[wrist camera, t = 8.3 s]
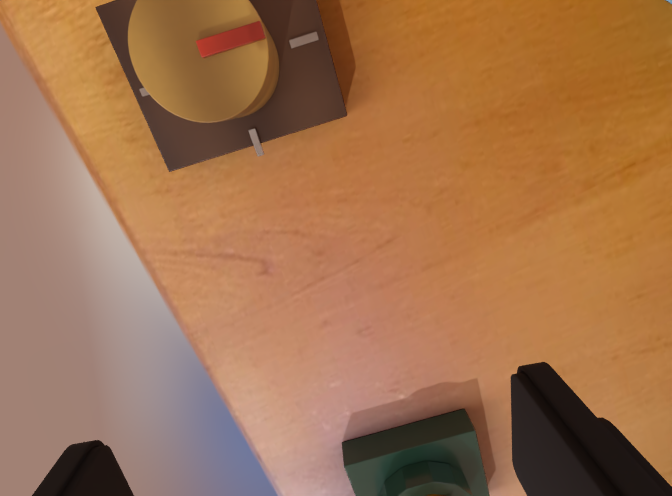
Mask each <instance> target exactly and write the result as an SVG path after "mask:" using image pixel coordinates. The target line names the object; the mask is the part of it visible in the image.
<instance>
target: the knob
mask: <svg viewBox="0 0 672 496" xmlns="http://www.w3.org/2000/svg"><path fill="white" fill-rule="evenodd" d="M128 46H129V53H130V57H131V61H132V64H133V67H134V70H135V72H136V74H137V76H138V78H139V80H140V82H141V83H142V85H143V86H144V88H145V89H146V91H147V92H148V93H149V94H150V96H151V97H152V98H153V99H154V100H155V101H156V102H157V103H158V104H160V105H161V106H162V107H163V108H165V109H166V110H168V111H169V112H171V113H173V114H174V115H177V116H179V117H181V118H183V119H187V120H190V121H194V122H200V123H213V122H220V121H225V120H230V119H235V118H240V117H244V116H248V115H250V114H253V113H254V112H256V111H258V110H259V109H260V108H262V107H263V106H264V105H265V104H266V103H267V102H268V101H269V99H270V98H271V96H272V95H273V93H274V91H275V88H276V86H277V82H278V78H279V57H278V52H277V49H276V46H275V43H274V41H273V39H272V37H271V35H270V34H269V32H268V30H267V28H266V27H265V25H264V23H263V21H262V20H261V18H260V16H259V15H258V13H257V11H256V10H255V8H254V7H253V5H252V4H251V2H250V1H249V0H137V1H136V3H135V6H134V8H133V10H132V13H131V17H130V21H129V27H128Z"/></svg>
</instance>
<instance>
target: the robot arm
mask: <svg viewBox="0 0 672 496" xmlns="http://www.w3.org/2000/svg"><path fill="white" fill-rule="evenodd" d="M511 414H512V461H513V466H514V470H515V472H516V475H517V477H518V479H519V481H520V483H521V485H522V487H523V489H524V490H525V492H526V494H527V496H672V487H671V486H670V485H669V484H668V483H667V481H666V480H665V479H664V478H663V477H662V476H661V475H660V474H659V473H658V472H657V471H656V470H655V469H654V468H653V466H652V465H651V464H650V463H649V462H648V461H647V460H646V459H645V458H644V457H643V456H642V455H641V454H640V453H639V451H638V450H637V449H636V448H635V447H634V446H633V445H632V444H631V443H630V442H629V441H628V440H627V439H626V438H625V436H624V435H623V434H622V433H621V432H620V431H619V430H618V429H617V428H616V427H615V426H614V425H613V424H612V423H611V422H610V421H608V420H606V419H604V418H597V417H596V416H595V415H594V414H593V413H592V412H591V411H590V409H589V408H588V407H587V406H586V405H585V404H584V403H583V402H582V401H581V399H580V398H579V397H578V396H577V395H576V394H575V393H574V392H573V391H572V389H571V388H570V387H569V386H568V385H567V384H566V383H565V382H564V381H563V379H562V378H561V377H560V376H559V375H558V374H557V373H556V372H555V371H554V369H553V368H552V367H551V366H550V365H549V364H548V363H546V362H541V363H535V364H529V365H524V366H519V367H518V370H517V374H512V376H511ZM32 496H134V495H133V493H132V491H131V489H130V487H129V485H128V483H127V481H126V479H125V477H124V475H123V473H122V471H121V469H120V467H119V465H118V463H117V461H116V458H115V457H114V455H113V452H112V450H111V449H110V447H108V446H107V445H106V446H105V445H104V444H103V443H102V442H101V441H99V440H95V441H89V442H83V443H78V444H72V445H70V446H69V447H68V448H67V449H66V450H65V451H64V452H63V454H62V455H61V456H60V458H59V459H58V461H57V462H56V463H55V465H54V466H53V467H52V469H51V470H50V472H49V473H48V474H47V476H46V477H45V478H44V480H43V481H42V483H41V484H40V485H39V487H38V488H37V490H36V491H35V492H34V494H33V495H32Z"/></svg>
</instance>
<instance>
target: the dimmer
mask: <svg viewBox="0 0 672 496" xmlns="http://www.w3.org/2000/svg"><path fill="white" fill-rule="evenodd" d="M136 1H137V0H115V1H112V2H109V3H106V4H103V5H100V6H97V7H96V10H97V12H98V14H99V17H100V19H101V21H102V23H103V25H104V28H105V30H106V32H107V34H108V37H109V39H110V41H111V43H112V46H113V48H114V50H115V52H116V54H117V57H118V59H119V61H120V63H121V66H122V68H123V70H124V72H125V74H126V77H127V79H128V81H129V83H130V86H131V88H132V90H133V92H134V94H135V97H136V99H137V101H138V103H139V106H140V108H141V110H142V112H143V114H144V117H145V119H146V121H147V123H148V126H149V128H150V130H151V132H152V135H153V137H154V139H155V141H156V143H157V146H158V148H159V150H160V152H161V155H162V157H163V159H164V161H165V163H166V166H167V168H168V170H169V172H171V171H174V170H177V169H180V168H183V167H187V166H190V165H193V164H196V163H199V162H202V161H206V160H209V159H212V158H215V157H218V156H222V155H225V154H228V153H231V152H234V151H237V150H241V149H244V148H247V147H250V146H253V145H254V148H255V150H256V153H257V156H261V155H264V152H263V149H262V146H261V143H263V142H266V141H269V140H272V139H276V138H279V137H282V136H285V135H288V134H292V133H295V132H298V131H301V130H304V129H307V128H311V127H314V126H317V125H320V124H323V123H326V122H330V121H333V120H336V119H339V118H342V117H346V116H347V112H346V109H345V105H344V101H343V98H342V94H341V90H340V86H339V83H338V79H337V75H336V72H335V68H334V64H333V61H332V57H331V53H330V49H329V46H328V42H327V38H326V35H325V31H324V27H323V24H322V20H321V16H320V12H319V9H318V5H317V1H316V0H249V1H250V2H251V4H252V5H253V7H254V8H255V10H256V11H257V13H258V15H259V16H260V18H261V20H262V21H263V23H264V25H265V27H266V28H267V30H268V32H269V34H270V35H271V37H272V39H273V41H274V43H275V46H276V49H277V52H278V57H279V78H278V82H277V86H276V88H275V91H274V93H273V95H272V96H271V98H270V99H269V101H268V102H267V103H266V104H265V105H264V106H263V107H262V108H260V109H259V110H258V111H256V112H254V113H253V114H250V115H248V116H244V117H240V118H235V119H230V120H225V121H220V122H213V123H200V122H194V121H190V120H187V119H183V118H181V117H179V116H177V115H174V114H173V113H171V112H169V111H168V110H166V109H165V108H163V107H162V106H161V105H160V104H158V103H157V102H156V101H155V100H154V99H153V98H152V97H151V96H150V94H149V93H148V92H147V91H146V89H145V88H144V86H143V85H142V83H141V82H140V80H139V78H138V76H137V74H136V72H135V70H134V67H133V64H132V61H131V57H130V53H129V46H128V27H129V21H130V17H131V13H132V10H133V8H134V6H135V3H136Z"/></svg>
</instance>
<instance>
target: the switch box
mask: <svg viewBox="0 0 672 496" xmlns="http://www.w3.org/2000/svg"><path fill="white" fill-rule="evenodd" d="M342 450H343V461H344V468H345V470H346V473H347V475H348V478H349V480H350V483H351V485H352V488H353V490H354V493H355V495H356V496H427V495H431V494H436V495H444V496H490V495H489V491H488V486H487V482H486V477H485V472H484V468H483V463H482V459H481V454H480V449H479V445H478V440H477V436H476V431H475V429H474V427H473V425H472V423H471V421H470V419H469V417H468V415H467V413H466V411H465V409H461V410H458V411H454V412H450V413H447V414H443V415H440V416H436V417H432V418H429V419H425V420H422V421H418V422H414V423H411V424H407V425H404V426H400V427H396V428H393V429H389V430H386V431H382V432H378V433H375V434H371V435H368V436H364V437H360V438H357V439H353V440H350V441H346V442H342Z"/></svg>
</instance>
